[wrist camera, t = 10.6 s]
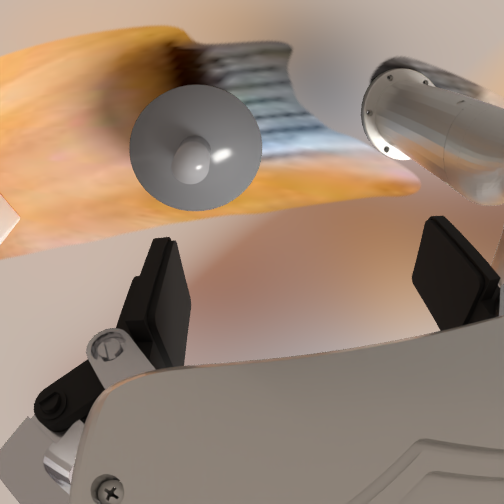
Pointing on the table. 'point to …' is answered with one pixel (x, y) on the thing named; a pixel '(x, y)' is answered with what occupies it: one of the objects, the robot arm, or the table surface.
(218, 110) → the lid
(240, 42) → the table surface
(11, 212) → the medicine bottle
